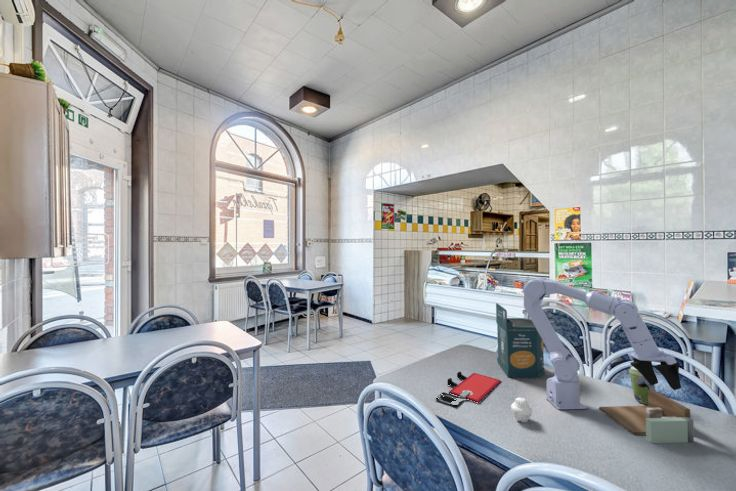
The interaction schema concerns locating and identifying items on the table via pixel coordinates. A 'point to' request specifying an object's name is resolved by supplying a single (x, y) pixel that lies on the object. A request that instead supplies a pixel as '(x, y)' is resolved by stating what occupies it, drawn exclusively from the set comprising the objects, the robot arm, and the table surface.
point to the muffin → (521, 409)
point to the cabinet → (646, 412)
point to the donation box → (519, 346)
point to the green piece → (669, 430)
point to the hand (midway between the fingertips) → (665, 386)
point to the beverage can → (640, 385)
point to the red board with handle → (470, 388)
